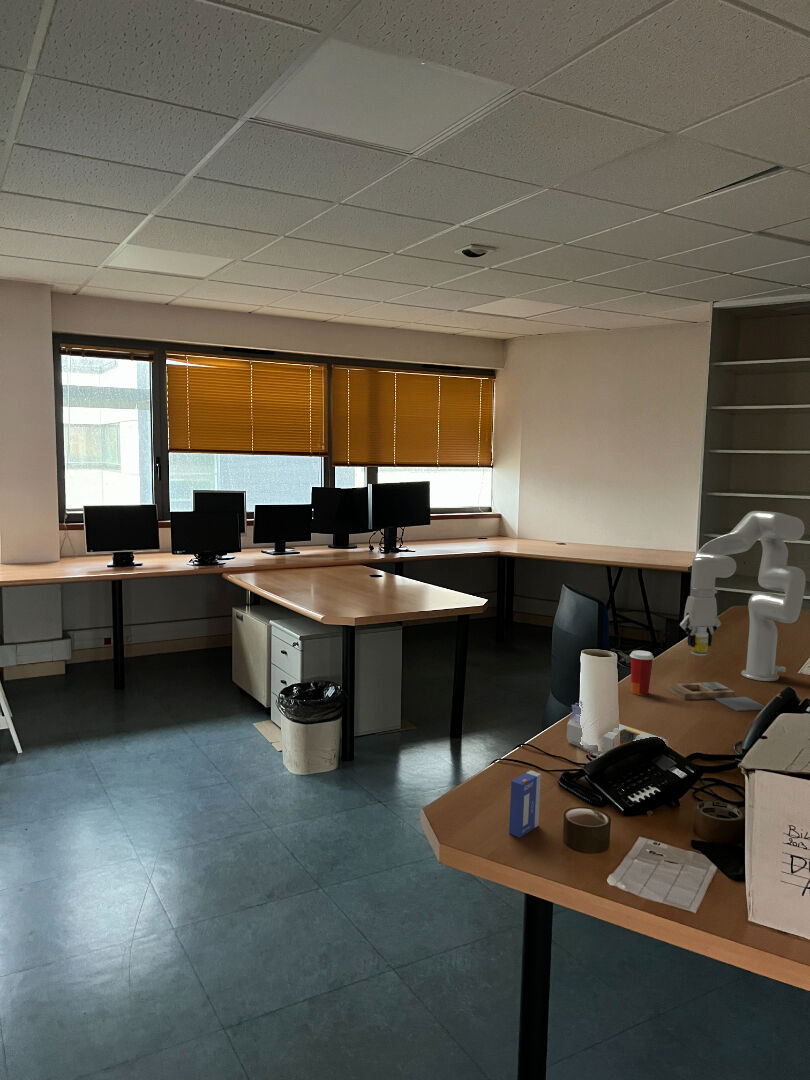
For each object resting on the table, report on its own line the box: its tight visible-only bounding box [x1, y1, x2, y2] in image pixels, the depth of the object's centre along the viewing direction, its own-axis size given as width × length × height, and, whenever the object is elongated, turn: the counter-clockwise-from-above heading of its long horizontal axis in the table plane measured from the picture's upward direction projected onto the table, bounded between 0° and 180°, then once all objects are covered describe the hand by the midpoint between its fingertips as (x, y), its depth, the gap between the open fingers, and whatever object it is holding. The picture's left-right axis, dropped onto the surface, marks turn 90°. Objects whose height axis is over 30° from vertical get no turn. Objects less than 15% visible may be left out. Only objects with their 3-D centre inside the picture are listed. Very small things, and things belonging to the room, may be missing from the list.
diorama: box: [566, 700, 669, 755], centre depth 211 cm, size 25×10×13 cm, turn 41°
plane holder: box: [666, 681, 736, 701], centre depth 267 cm, size 19×11×3 cm, turn 103°
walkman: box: [508, 770, 542, 839], centre depth 166 cm, size 8×3×12 cm, turn 140°
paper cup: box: [629, 650, 654, 696], centre depth 265 cm, size 8×8×14 cm
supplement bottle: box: [690, 627, 709, 657], centre depth 265 cm, size 5×5×10 cm
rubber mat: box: [713, 696, 766, 712], centre depth 256 cm, size 12×12×1 cm
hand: (699, 645), depth 265 cm, fingers closed on supplement bottle, 5 cm apart
